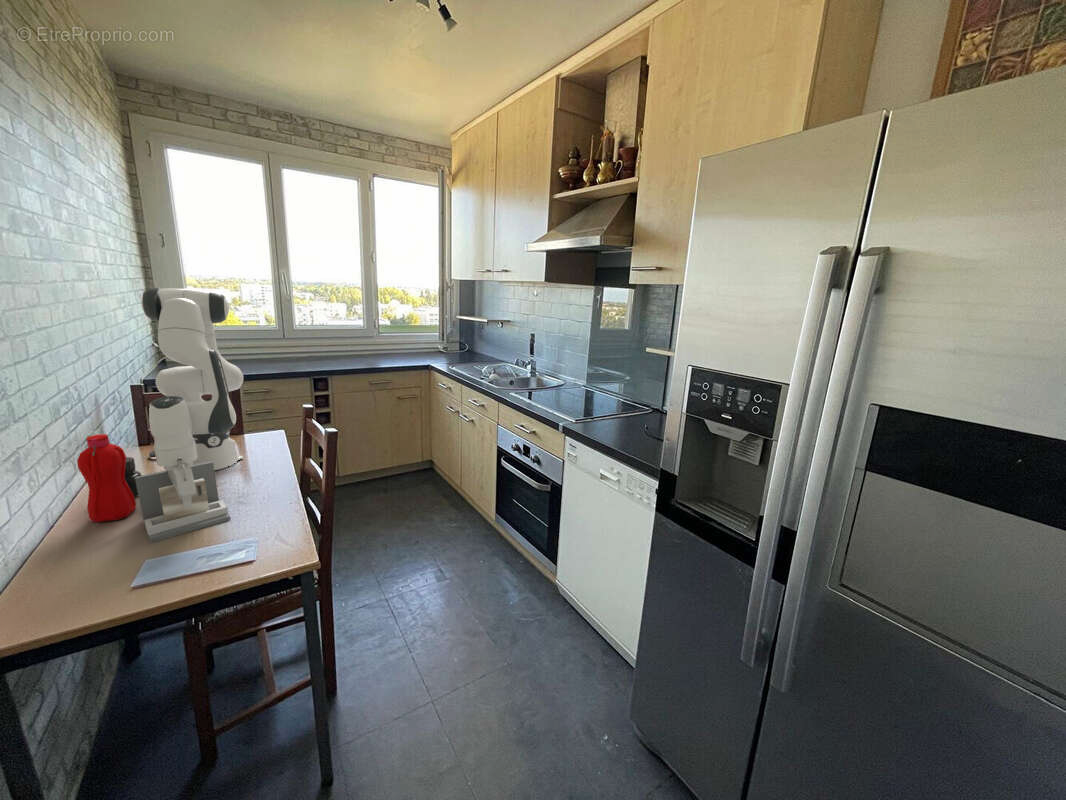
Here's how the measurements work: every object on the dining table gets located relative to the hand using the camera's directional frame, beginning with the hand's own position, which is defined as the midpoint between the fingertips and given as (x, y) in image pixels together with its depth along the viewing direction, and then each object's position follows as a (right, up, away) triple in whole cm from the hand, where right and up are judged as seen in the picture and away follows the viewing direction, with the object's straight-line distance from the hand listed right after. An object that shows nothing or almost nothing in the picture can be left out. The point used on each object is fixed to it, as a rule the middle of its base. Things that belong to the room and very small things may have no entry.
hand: (184, 500), depth 123 cm
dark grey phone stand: (-53, +8, +60) cm, 80 cm away
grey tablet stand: (-2, -7, +3) cm, 7 cm away
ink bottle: (-33, -3, +18) cm, 38 cm away
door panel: (0, -6, +1) cm, 6 cm away
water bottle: (-25, -6, +4) cm, 26 cm away
